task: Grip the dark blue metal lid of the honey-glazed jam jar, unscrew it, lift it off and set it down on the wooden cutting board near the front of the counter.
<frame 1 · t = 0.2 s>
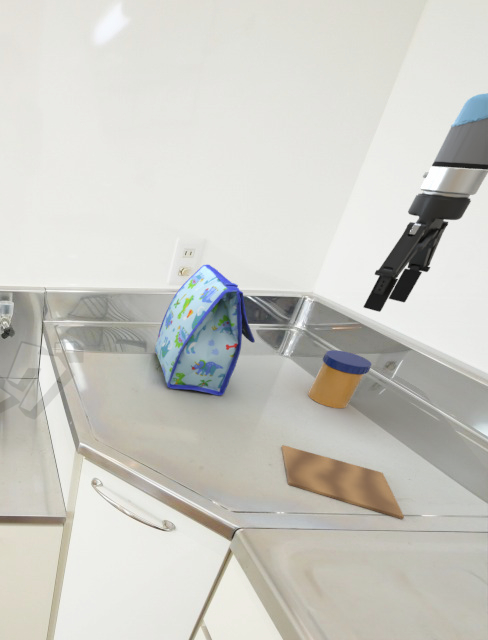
hand: (384, 304, 88), 25 cm above the counter, tool pointing down, fingers open, 13 cm apart
wooden cutting board: (335, 479, 76), on the counter
jam jar: (327, 399, 101), on the counter
lunch bag: (187, 374, 110), on the counter
jar lid: (347, 359, 96), point 11 cm above the counter, screwed on, not yet turned
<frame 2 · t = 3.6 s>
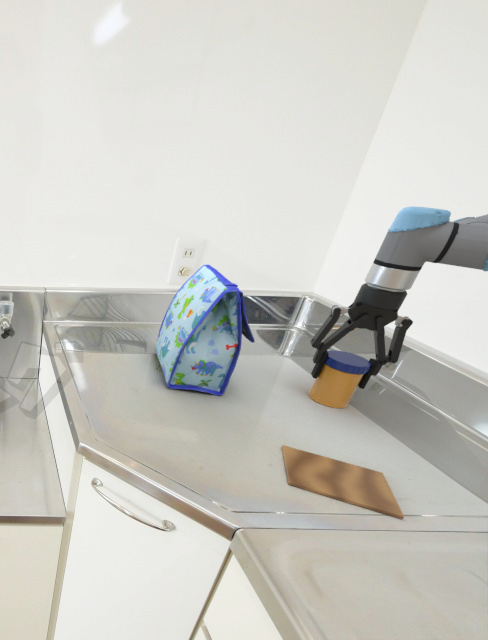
hand: (336, 380, 99), 5 cm above the counter, tool pointing down, fingers closed on jar lid, 8 cm apart
jar lid: (347, 359, 96), point 11 cm above the counter, screwed on, not yet turned, touching gripper
everything else where it was.
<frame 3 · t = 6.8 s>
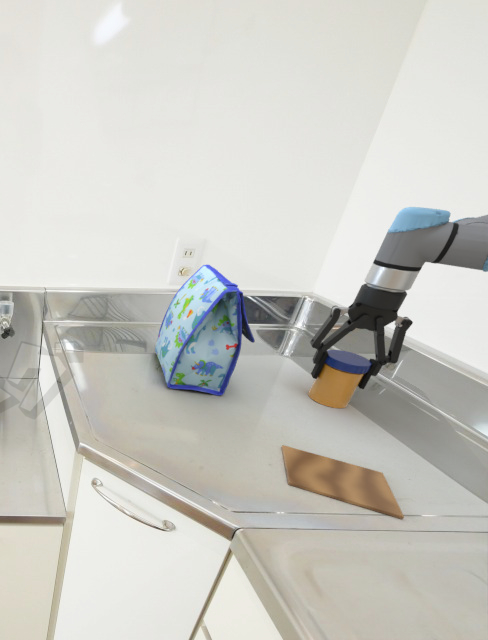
hand: (336, 381, 99), 5 cm above the counter, tool pointing down, fingers closed on jar lid, 8 cm apart
jar lid: (347, 359, 96), point 11 cm above the counter, turned 98° so far, risen 0.1 cm, still on its thread, touching gripper
everything else where it was.
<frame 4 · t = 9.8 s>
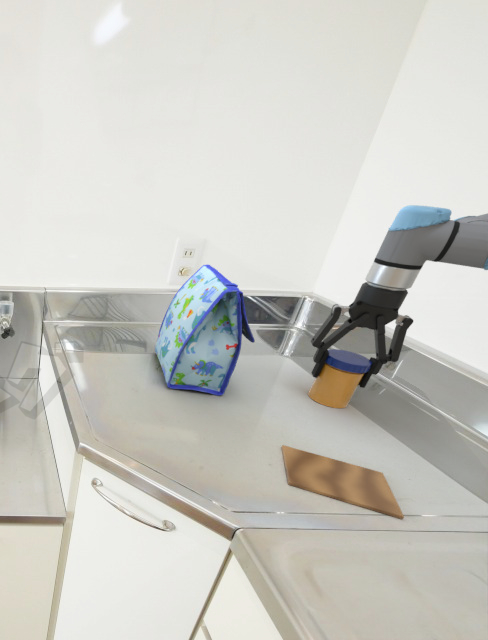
hand: (337, 379, 99), 5 cm above the counter, tool pointing down, fingers closed on jar lid, 8 cm apart
jar lid: (348, 358, 96), point 11 cm above the counter, turned 197° so far, risen 0.3 cm, still on its thread, touching gripper
everything else where it was.
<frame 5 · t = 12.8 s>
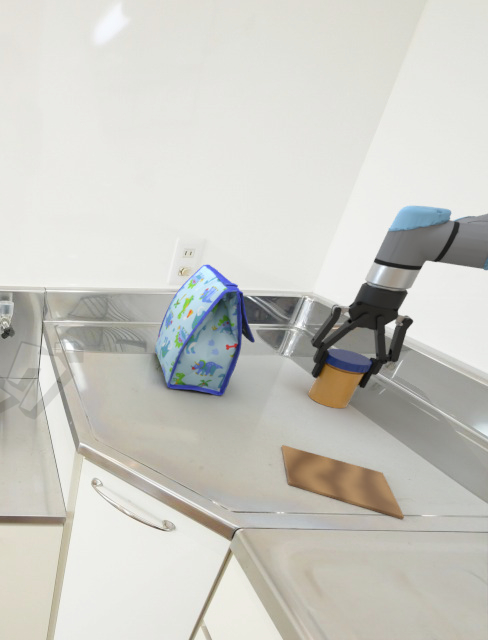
hand: (337, 380, 99), 5 cm above the counter, tool pointing down, fingers closed on jar lid, 8 cm apart
jar lid: (348, 358, 96), point 11 cm above the counter, turned 295° so far, risen 0.4 cm, still on its thread, touching gripper
everything else where it was.
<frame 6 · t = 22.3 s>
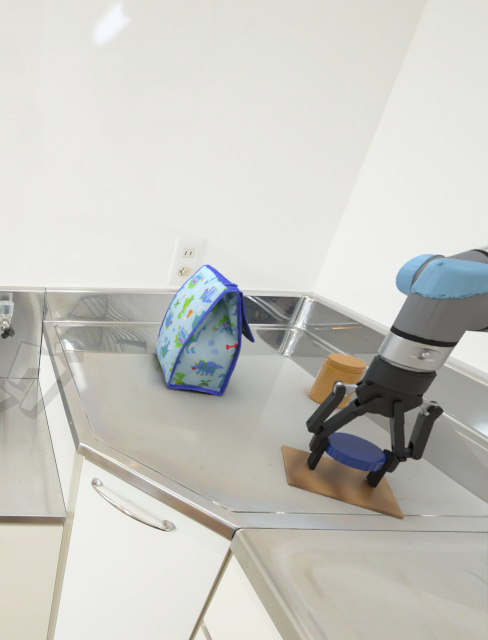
hand: (339, 473, 76), 1 cm above the counter, tool pointing down, fingers closed on jar lid, 8 cm apart
jar lid: (354, 448, 73), point 7 cm above the counter, off its thread, touching gripper
everything else where it was.
when the fingers open (1 cm above the counter, at t = 22.5 s): jar lid drops 5 cm, resting on wooden cutting board.
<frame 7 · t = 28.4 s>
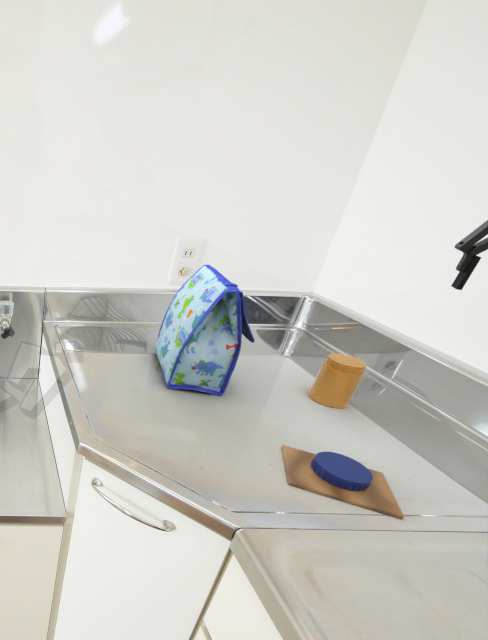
jar lid: (342, 468, 76), point 2 cm above the counter, off its thread, touching wooden cutting board
everything else where it was.
at the end: jar lid came off its thread; jar lid inside the target area on the wooden cutting board (1.1 cm from its centre), point 2.1 cm above the wooden cutting board's base; the gripper is holding nothing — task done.
